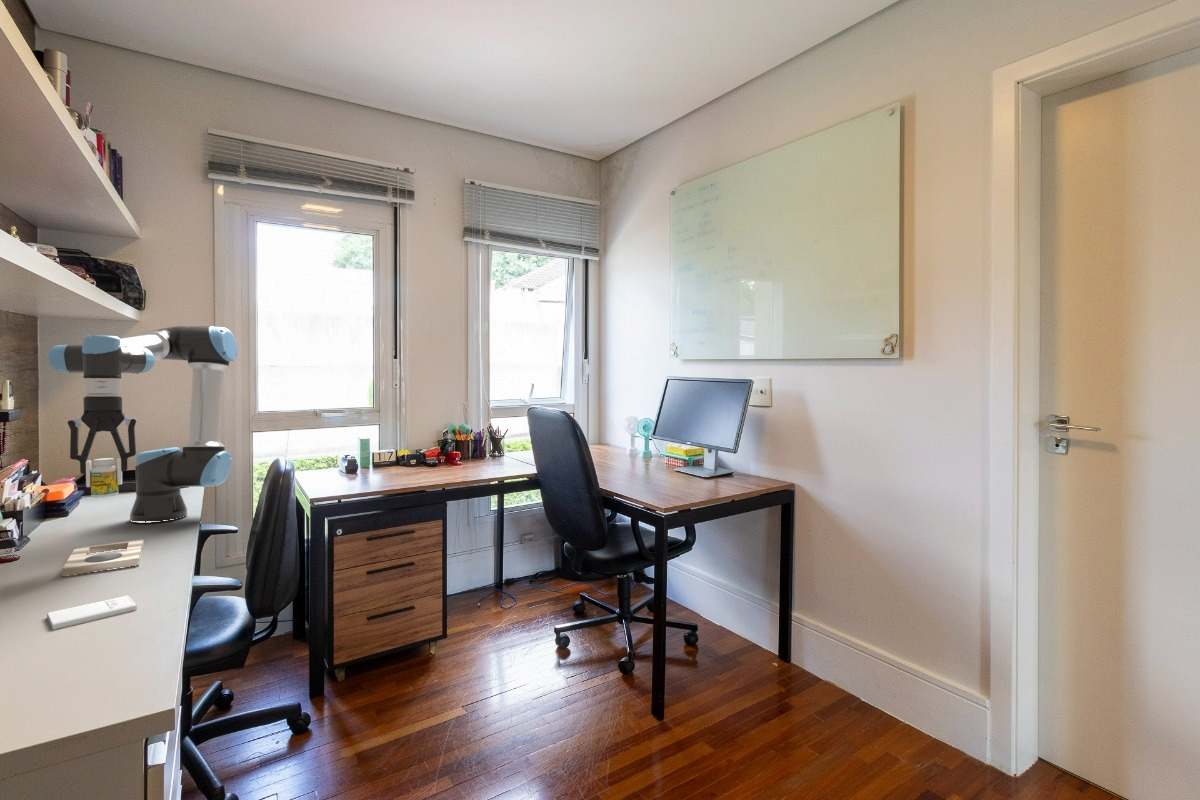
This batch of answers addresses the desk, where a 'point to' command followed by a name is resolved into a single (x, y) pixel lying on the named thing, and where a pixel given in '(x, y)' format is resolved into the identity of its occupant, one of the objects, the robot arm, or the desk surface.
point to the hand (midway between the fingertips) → (104, 484)
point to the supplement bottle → (104, 478)
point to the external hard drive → (90, 612)
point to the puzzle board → (103, 557)
